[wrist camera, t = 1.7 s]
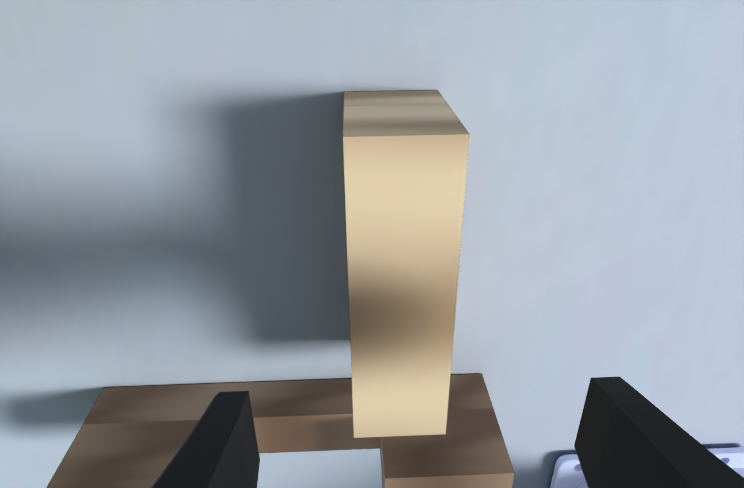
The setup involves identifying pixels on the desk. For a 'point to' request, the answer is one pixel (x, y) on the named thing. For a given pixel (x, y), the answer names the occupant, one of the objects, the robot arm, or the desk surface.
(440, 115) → the oak block
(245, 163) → the desk surface
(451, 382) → the walnut u-shaped block
